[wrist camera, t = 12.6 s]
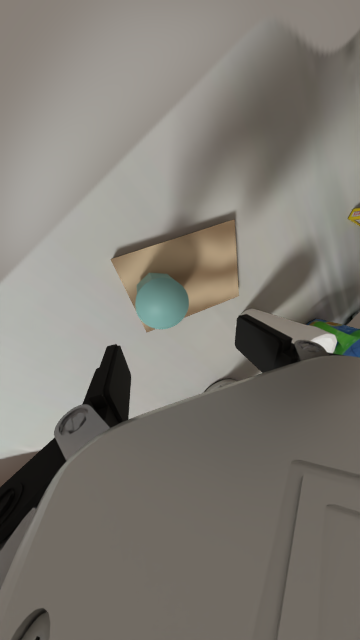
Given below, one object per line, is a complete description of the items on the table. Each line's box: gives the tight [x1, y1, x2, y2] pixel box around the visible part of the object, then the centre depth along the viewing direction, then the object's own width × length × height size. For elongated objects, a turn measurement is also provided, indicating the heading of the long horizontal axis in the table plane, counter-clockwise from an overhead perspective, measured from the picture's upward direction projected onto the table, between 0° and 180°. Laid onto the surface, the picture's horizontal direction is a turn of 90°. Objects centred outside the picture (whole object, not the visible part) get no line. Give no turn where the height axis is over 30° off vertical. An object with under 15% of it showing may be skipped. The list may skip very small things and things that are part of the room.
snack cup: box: [306, 319, 360, 358], centre depth 35 cm, size 16×10×10 cm
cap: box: [135, 273, 189, 329], centre depth 18 cm, size 6×6×5 cm
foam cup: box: [236, 309, 337, 353], centre depth 26 cm, size 10×9×13 cm
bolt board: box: [111, 219, 239, 332], centre depth 21 cm, size 12×18×6 cm, turn 106°
